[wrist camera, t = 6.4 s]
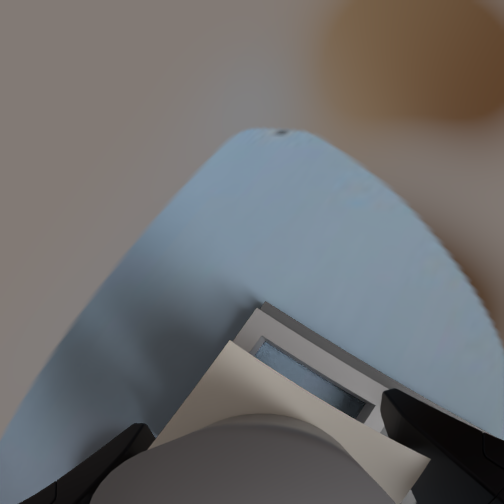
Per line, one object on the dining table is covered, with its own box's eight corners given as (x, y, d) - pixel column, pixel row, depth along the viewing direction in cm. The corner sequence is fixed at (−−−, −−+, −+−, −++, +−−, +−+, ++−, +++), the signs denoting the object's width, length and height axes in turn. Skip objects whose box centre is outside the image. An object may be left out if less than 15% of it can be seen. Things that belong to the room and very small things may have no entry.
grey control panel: (497, 442, 15) (516, 444, 13) (406, 569, 12) (416, 583, 10) (266, 307, 22) (264, 296, 20) (166, 444, 19) (151, 449, 16)
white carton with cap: (348, 419, 14) (513, 490, 2) (289, 496, 13) (280, 691, 1) (265, 368, 15) (183, 301, 4) (207, 444, 14) (17, 538, 2)
